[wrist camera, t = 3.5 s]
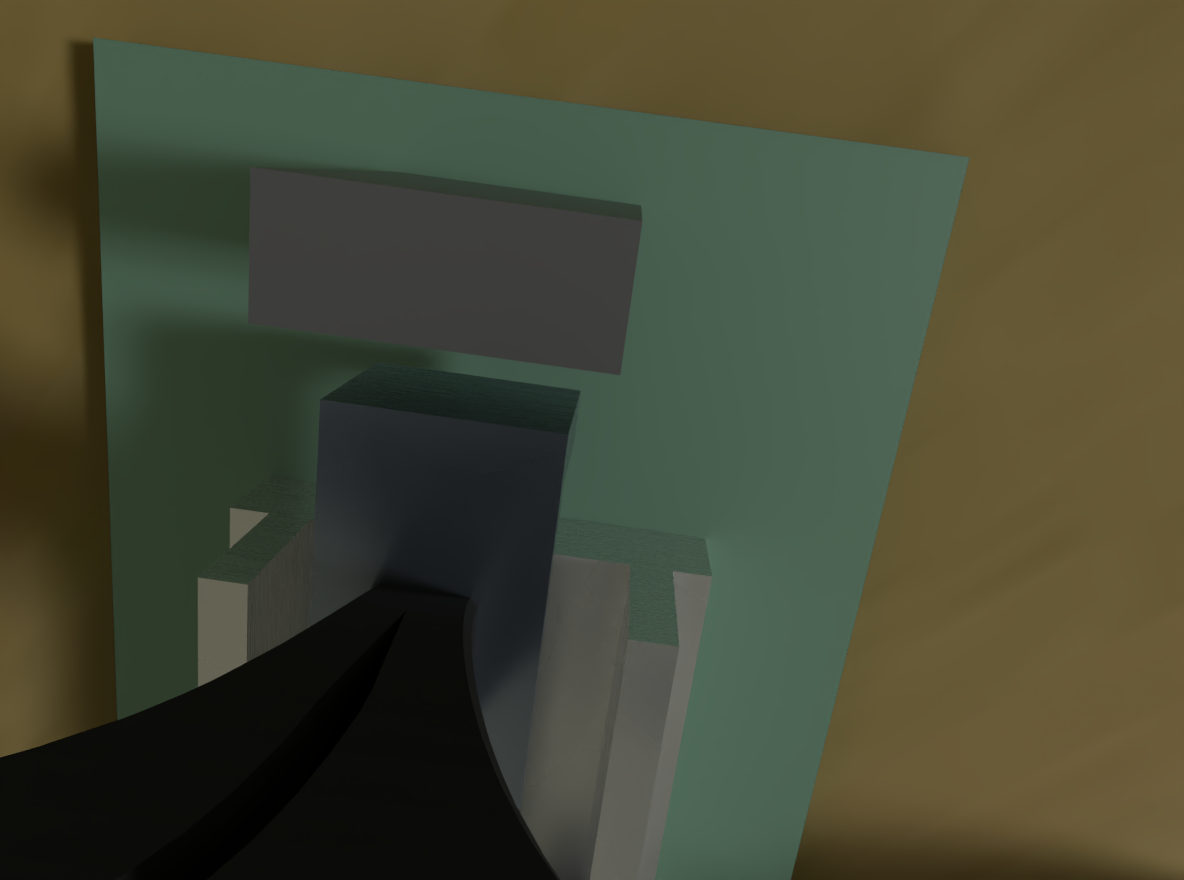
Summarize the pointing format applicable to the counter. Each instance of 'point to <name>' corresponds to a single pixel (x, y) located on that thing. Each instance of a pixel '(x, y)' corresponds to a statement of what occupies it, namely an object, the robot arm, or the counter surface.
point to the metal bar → (450, 516)
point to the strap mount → (443, 264)
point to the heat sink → (566, 678)
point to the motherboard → (541, 374)
